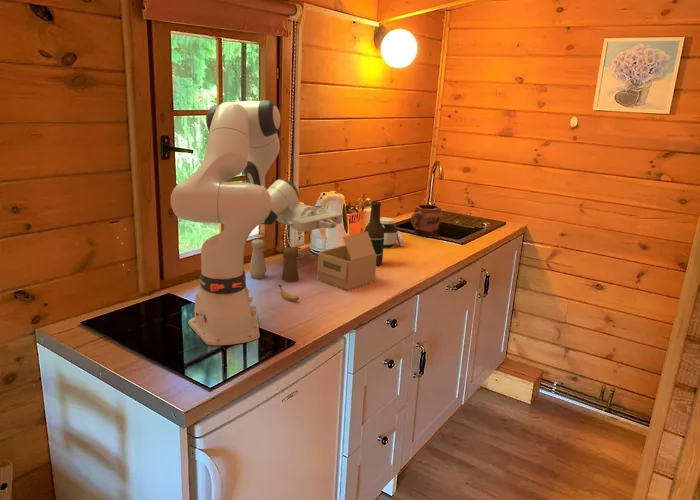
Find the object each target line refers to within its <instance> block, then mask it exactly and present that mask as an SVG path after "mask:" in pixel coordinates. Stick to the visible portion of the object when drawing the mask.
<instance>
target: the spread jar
mask: <svg viewBox="0 0 700 500" xmlns="http://www.w3.org/2000/svg"><path fill="white" fill-rule="evenodd" d="M380 224H381V226H382V227H383V230H384V246H383V249H391V248H393V247H394V246H395V245H396V244H398V246H399V247H404V245H405V242H404V238H403V235H402V233H401V231H400V230H398V228H397V227H396V224H395V219H394V218H392V217H383V216H382V217H381V216H380Z"/></svg>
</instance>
